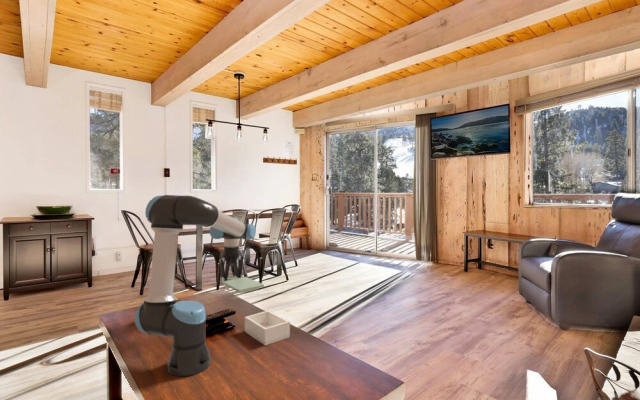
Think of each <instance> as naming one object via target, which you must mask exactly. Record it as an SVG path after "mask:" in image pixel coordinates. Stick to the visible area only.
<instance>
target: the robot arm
mask: <svg viewBox="0 0 640 400" xmlns="http://www.w3.org/2000/svg"><path fill="white" fill-rule="evenodd" d="M144 212H145V217H146V220H147V222H149V223H150V229H151V230H152V231H153V233H154V237H153V249H152V257H151V258H152V259H151V268H150V278H149V279H150V280H149V290H148V295H147V296H146V297H144V299H143V302H142V303H141V304H140V305H139V306H138V308H137V309H136V311H135V316H134V323H135V326H136V328H137V330H139V332H141V333H143V334H146V335H150V336H160V337H166V338H172V349H171V352H170V355H169V358H168V360H167V372H168V373H169V374H170V375H172V376H175V377H189V376H193V375H197V374H200V373H202V372H203V371H205V370H206V369H208V368H209V366H210V365H211V354H210V350H209V349H208V346H207V343H206V338H207V337H206V335H207V334H206V328H207V327H206V326H207V325H206V322H207V321H206V319H207V315H206V308H205V305H204V304H203V303H201V302H199V301H197V300H196V301H195V300H180V302H177V303H176V300H177V299H178V297H176V295H175V294H174V287H175V286H174V285H175V274H176V263H177V255H178V254H177V252H178V241H179V234H180V233H181V232H182V231H183V230H184V226H200V227H204V228H209V227H210V228H209V235H210V237H211V238H212V239H215V240H220V239H223V245H224V247H223V254H224V255H223V257H222V258H219V259H218V261H219V267H220V270H219V271H220V272H219V273H220V277H221V278H222V279H223V281H228V280H229V278H228V276H229V272H230V267H231V264H232V266H233V271H234V276H235V277H237V278H240V275H242V274H243V262H244V261H243V260H244V256H242V255H239V240H253V239H254V238H255V236H256V234H257V227H256V226H255V225H254V224H251V223H244V222H242V221H239V218H238V217H234V216H233V217H232V216H230V215H228V214H226V213H224V212H222V211H220V210H219V209H218V207H217V206H215V205H214V204H212V203H210V202H208V201H206V200H204V199H201V198H199V197H196V196H192V195H175V194H173V195H172V194H162V195H157V196H154V197H152V199H150V200H149V201H148V203H147V205H146V208H145V211H144ZM225 290H227V291H230V287H228V286H226V285H225Z"/></svg>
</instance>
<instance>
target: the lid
mask: <svg viewBox="0 0 640 400" xmlns="http://www.w3.org/2000/svg"><path fill="white" fill-rule="evenodd" d="M228 278H229V280H228V281H224V280H223V281H222V285H224V286H225V287H226V286H228V287H229V289H230V290H231V289H232V290H234V291H236V292H237V293H241V294H243V293H247V292H250V291H256V290H260V289H261V288H264V287H265V284H264V283H261V282H259V281H257V280H254V279H251V278H249V277H247V276H243V277H239V278H237V277H235V275H228Z"/></svg>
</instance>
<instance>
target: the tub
mask: <svg viewBox="0 0 640 400" xmlns="http://www.w3.org/2000/svg"><path fill="white" fill-rule="evenodd" d="M244 332H245V333H246V334H247V335H249V336H250V337H252V338H253V339H255V340H256V341H258V342H259V343H261V344H262V345H264V346H267V345H270V344H273V343H276V342H279V341H282V340H285V339H287V338H290V336H291V322H290V320H287V319H286V318H284V317H283V316H280V315H278V314H276V313H275V312H272V311H270V310H266V311H261V312H258V313H254V314H250V315H247V316H244Z"/></svg>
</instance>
